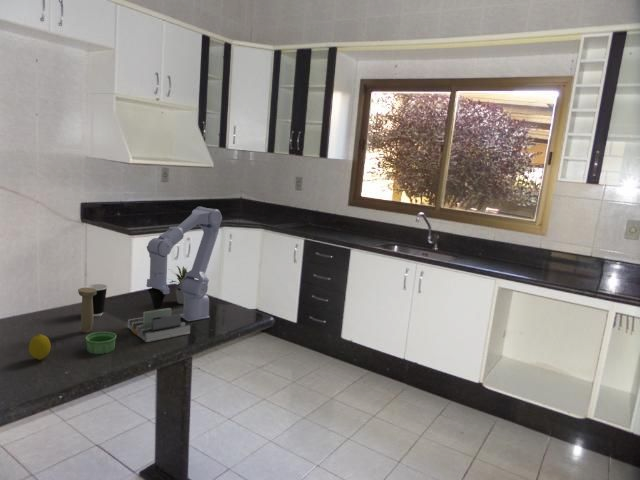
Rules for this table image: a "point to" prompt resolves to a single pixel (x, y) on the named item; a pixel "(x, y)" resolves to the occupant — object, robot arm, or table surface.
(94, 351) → the ramekin
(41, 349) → the lemon
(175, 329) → the rack
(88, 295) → the handle
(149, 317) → the panel
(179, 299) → the house plant
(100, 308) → the dixie cup
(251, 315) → the table surface
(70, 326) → the table surface
